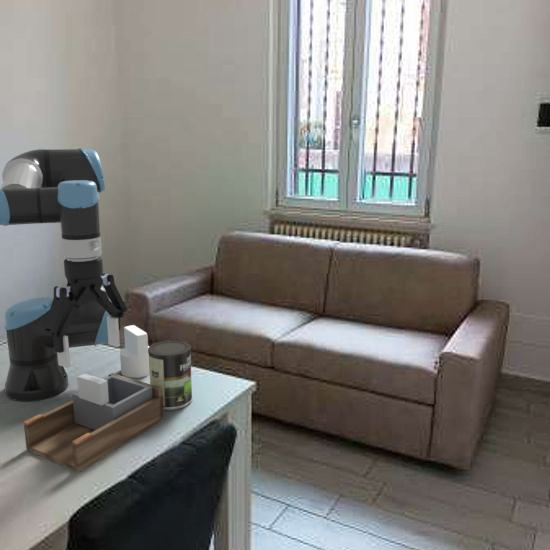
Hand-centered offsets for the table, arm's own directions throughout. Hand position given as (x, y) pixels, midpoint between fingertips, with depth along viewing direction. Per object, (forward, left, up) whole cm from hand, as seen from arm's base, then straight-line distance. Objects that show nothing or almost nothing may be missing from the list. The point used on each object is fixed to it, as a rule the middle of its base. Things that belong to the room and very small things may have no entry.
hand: (90, 355), depth 125 cm
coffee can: (+3, +22, -19) cm, 29 cm away
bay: (0, +1, -19) cm, 19 cm away
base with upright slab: (-17, +31, -19) cm, 40 cm away
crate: (0, +5, -17) cm, 18 cm away
